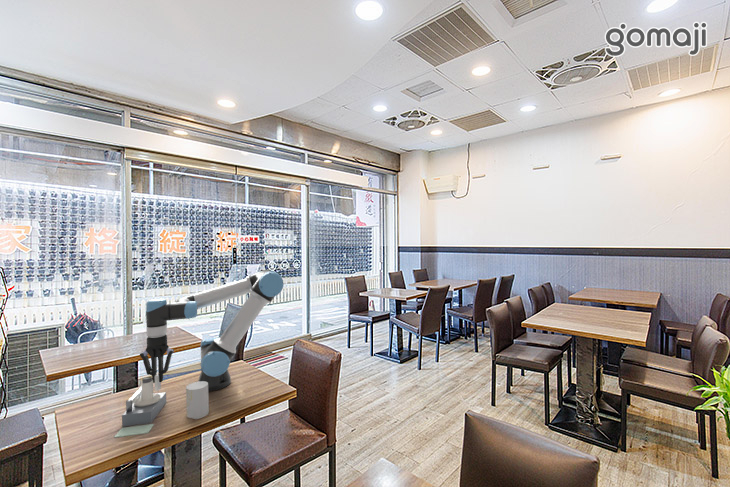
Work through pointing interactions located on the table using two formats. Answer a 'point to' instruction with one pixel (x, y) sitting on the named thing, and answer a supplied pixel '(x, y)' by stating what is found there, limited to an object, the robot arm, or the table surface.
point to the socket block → (143, 413)
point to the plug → (147, 394)
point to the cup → (197, 399)
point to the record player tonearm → (132, 400)
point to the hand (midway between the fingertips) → (157, 389)
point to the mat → (134, 430)
